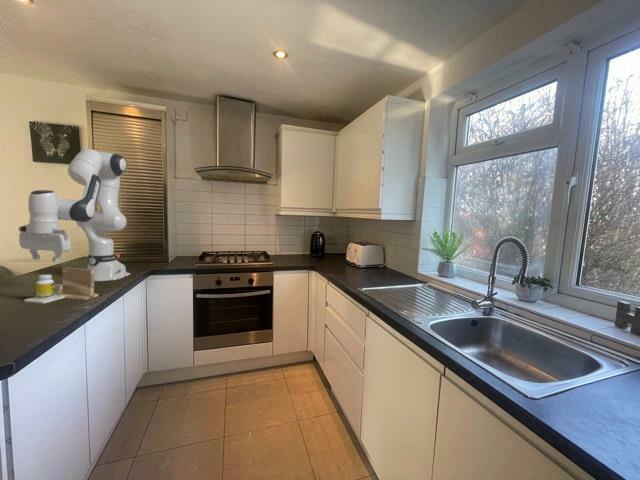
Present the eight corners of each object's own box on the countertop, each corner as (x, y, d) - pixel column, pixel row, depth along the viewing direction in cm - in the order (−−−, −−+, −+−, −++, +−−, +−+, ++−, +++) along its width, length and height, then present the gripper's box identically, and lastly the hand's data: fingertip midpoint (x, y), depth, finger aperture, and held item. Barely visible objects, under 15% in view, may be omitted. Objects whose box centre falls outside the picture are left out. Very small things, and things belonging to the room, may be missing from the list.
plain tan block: (53, 292, 129) (52, 284, 128) (62, 292, 129) (62, 284, 129) (45, 294, 125) (45, 286, 124) (56, 295, 125) (55, 286, 125)
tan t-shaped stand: (70, 293, 129) (70, 266, 127) (98, 296, 127) (98, 268, 126) (57, 297, 123) (57, 268, 122) (86, 299, 121) (86, 271, 120)
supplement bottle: (54, 298, 119) (53, 276, 118) (36, 300, 115) (35, 277, 114) (54, 295, 122) (53, 273, 122) (36, 297, 119) (36, 274, 118)
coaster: (47, 295, 124) (47, 293, 123) (65, 297, 123) (65, 295, 123) (24, 301, 115) (24, 299, 114) (43, 303, 114) (43, 301, 114)
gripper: (74, 229, 119) (75, 260, 120) (31, 226, 120) (33, 257, 122) (59, 230, 112) (60, 263, 114) (14, 227, 114) (16, 259, 116)
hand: (46, 260), depth 118 cm, fingers open, 8 cm apart
